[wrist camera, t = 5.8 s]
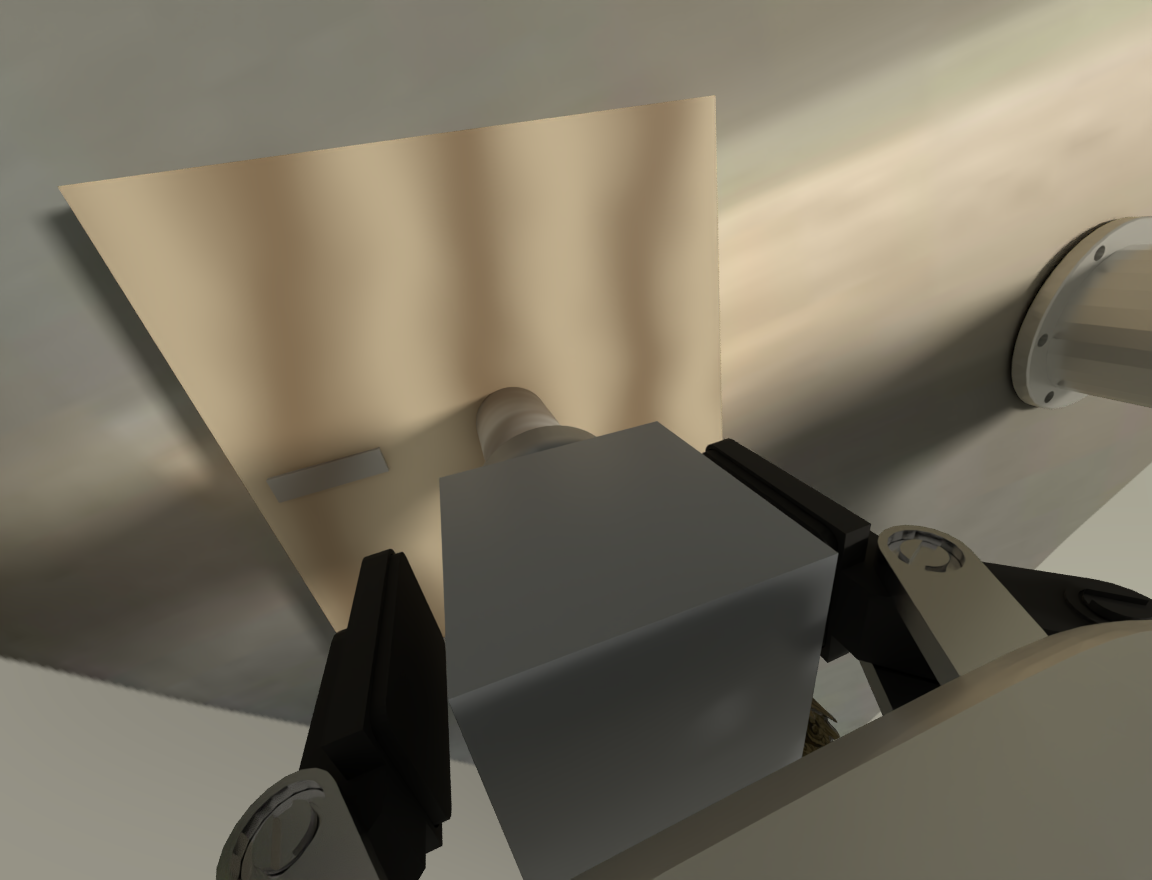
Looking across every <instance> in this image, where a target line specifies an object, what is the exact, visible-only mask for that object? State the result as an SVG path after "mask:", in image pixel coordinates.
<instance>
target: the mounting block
mask: <svg viewBox="0 0 1152 880" xmlns="http://www.w3.org/2000/svg"><path fill="white" fill-rule="evenodd" d="M58 188H59V189H60V191H61V193H62V194H63V196H64V197H65V199H66V201H67V202H68V204H69V205H70V207H71V209H72V210H73V212H74V213H75V215H76V217H77V218H78V220H79V221H80V223H81V225H82V226H83V228H84V229H85V231H86V233H87V234H88V236H89V237H90V239H91V241H92V242H93V244H94V245H95V247H96V249H97V250H98V252H99V254H100V255H101V257H102V258H103V260H104V262H105V263H106V265H107V266H108V268H109V270H110V271H111V273H112V274H113V276H114V278H115V279H116V281H117V282H118V284H119V286H120V287H121V289H122V290H123V292H124V294H125V295H126V297H127V298H128V300H129V302H130V303H131V305H132V306H133V308H134V310H135V311H136V313H137V314H138V316H139V318H140V319H141V321H142V322H143V324H144V326H145V327H146V329H147V330H148V332H149V334H150V335H151V337H152V338H153V340H154V342H155V343H156V345H157V346H158V348H159V350H160V351H161V353H162V354H163V356H164V358H165V359H166V361H167V362H168V364H169V366H170V367H171V369H172V370H173V372H174V374H175V375H176V377H177V378H178V380H179V382H180V383H181V385H182V386H183V388H184V390H185V391H186V393H187V394H188V396H189V398H190V399H191V401H192V402H193V404H194V406H195V407H196V409H197V410H198V412H199V414H200V415H201V417H202V418H203V420H204V422H205V423H206V425H207V426H208V428H209V430H210V431H211V433H212V434H213V436H214V438H215V439H216V441H217V442H218V444H219V446H220V447H221V449H222V450H223V452H224V454H225V455H226V457H227V458H228V460H229V462H230V463H231V465H232V466H233V468H234V470H235V471H236V473H237V474H238V476H239V478H240V479H241V481H242V482H243V484H244V486H245V487H246V489H247V490H248V492H249V494H250V495H251V497H252V498H253V500H254V502H255V503H256V505H257V506H258V508H259V510H260V511H261V513H262V514H263V516H264V518H265V519H266V521H267V522H268V524H269V526H270V527H271V529H272V530H273V532H274V534H275V535H276V537H277V538H278V540H279V542H280V543H281V545H282V546H283V548H284V550H285V551H286V553H287V554H288V556H289V558H290V559H291V561H292V562H293V564H294V566H295V567H296V569H297V570H298V572H299V574H300V575H301V577H302V578H303V580H304V582H305V583H306V585H307V586H308V588H309V590H310V591H311V593H312V594H313V596H314V598H315V599H316V601H317V602H318V604H319V606H320V607H321V609H322V610H323V612H324V614H325V615H326V617H327V618H328V620H329V622H330V623H331V625H332V626H333V628H334V630H335V631H336V633H337V632H338V631H341V630H344V629H346V628H347V626H348V621H349V617H350V613H351V608H352V604H353V599H354V595H355V590H356V586H357V581H358V577H359V572H360V568H361V563H362V560H363V558H364V557H366V556H369V555H372V554H375V553H378V552H381V551H384V550H387V549H393V551H394V552H395V553H399V552H404V554H405V555H406V557H407V559H408V562H409V564H410V566H411V568H412V570H413V572H414V575H415V577H416V579H417V581H418V583H419V585H420V588H421V590H422V592H423V594H424V596H425V598H426V601H427V603H428V605H429V607H430V609H431V611H432V614H433V616H434V618H435V620H436V622H437V624H438V627H439V629H440V631H441V633H442V636H443V637H445V614H444V588H443V563H442V538H441V513H440V488H439V478H440V477H444V476H448V475H452V474H456V473H460V472H463V471H467V470H471V469H475V468H479V467H482V466H483V465H484V463H485V462H486V461H487V459H488V458H489V457H490V456H491V455H492V454H493V453H494V452H495V451H496V450H497V449H498V448H499V447H500V446H501V445H503V444H504V443H505V442H506V441H508V440H510V439H511V438H513V437H515V436H516V435H519V434H521V433H523V432H525V431H528V430H531V429H534V428H538V427H544V426H553V425H562V426H571V427H576V428H579V429H582V430H585V431H587V432H589V433H591V434H593V435H595V436H596V437H598V436H602V435H605V434H609V433H613V432H617V431H621V430H625V429H629V428H632V427H636V426H640V425H644V424H648V423H652V422H655V421H658V422H659V423H660V424H662V425H663V426H665V427H666V428H667V429H669V430H670V431H671V432H673V433H674V434H676V435H677V436H678V437H680V438H681V439H682V440H684V441H685V442H687V443H688V444H689V445H691V446H692V447H693V448H695V449H696V450H698V451H699V452H700V453H703V452H705V449H706V447H707V446H708V445H709V444H712V443H715V442H718V441H721V440H722V396H721V348H720V299H719V251H718V203H717V155H716V107H715V95H714V96H707V97H699V98H692V99H685V100H678V101H671V102H663V103H656V104H649V105H642V106H634V107H627V108H620V109H613V110H606V111H598V112H591V113H584V114H577V115H569V116H562V117H555V118H548V119H541V120H533V121H526V122H519V123H512V124H505V125H497V126H490V127H483V128H476V129H468V130H461V131H454V132H447V133H440V134H432V135H425V136H418V137H411V138H404V139H396V140H389V141H382V142H375V143H367V144H360V145H353V146H346V147H339V148H331V149H324V150H317V151H310V152H303V153H295V154H288V155H281V156H274V157H266V158H259V159H252V160H245V161H238V162H230V163H223V164H216V165H209V166H202V167H194V168H187V169H180V170H173V171H165V172H158V173H151V174H144V175H137V176H129V177H122V178H115V179H108V180H101V181H93V182H86V183H79V184H72V185H64V186H58Z"/></svg>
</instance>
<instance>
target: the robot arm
mask: <svg viewBox="0 0 1152 880" xmlns="http://www.w3.org/2000/svg"><path fill="white" fill-rule="evenodd" d="M1011 375H1012V381H1013V387H1014V389H1015V391H1016V393H1017V395H1018V397H1019V398H1020V399H1021V400H1022V401H1024V402H1025V403H1027V404H1030V405H1033V406H1036V407H1041V408H1046V409H1058V408H1063V407H1065V406H1068V405H1071V404H1073V403H1076V402H1077V401H1079V400H1081V399H1083V398H1084V397H1086V396H1088V395H1092V396H1097V397H1102V398H1107V399H1111V400H1116V401H1121V402H1126V403H1130V404H1135V405H1140V406H1144V407H1149V408H1152V216H1142V217H1125V218H1121V219H1117V220H1114V221H1111V222H1109V223H1107V224H1105V225H1103V226H1102V227H1100V228H1098V229H1096V230H1095V231H1094V232H1092V233H1091V234H1090V235H1088V236H1087V237H1086V238H1084V239H1083V240H1081V241H1080V242H1079V243H1078V244H1077V245H1076V246H1075V247H1074V248H1073V249H1072V250H1071V251H1070V252H1069V253H1068V254H1067V255H1066V256H1065V257H1064V258H1063V259H1062V261H1061V262H1060V263H1059V264H1058V265H1057V267H1056V268H1055V269H1054V270H1053V271H1052V273H1051V274H1050V276H1049V277H1048V278H1047V280H1046V281H1045V283H1044V284H1043V286H1042V287H1041V289H1040V290H1039V292H1038V294H1037V295H1036V297H1035V299H1034V301H1033V302H1032V304H1031V306H1030V308H1029V310H1028V312H1027V314H1026V317H1025V319H1024V321H1023V323H1022V325H1021V328H1020V331H1019V334H1018V337H1017V340H1016V343H1015V348H1014V353H1013V358H1012V373H1011ZM702 454H703V455H704V456H706V457H707V458H709V459H710V460H711V461H713V462H714V463H715V464H717V465H718V466H719V467H721V468H722V469H724V470H725V471H726V472H728V473H729V474H730V475H732V476H733V477H735V478H736V479H737V480H739V481H740V482H741V483H743V484H744V485H746V486H747V487H748V488H750V489H751V490H752V491H754V492H755V493H757V494H758V495H759V496H761V497H762V498H763V499H765V500H766V501H768V502H769V503H770V504H772V505H773V506H774V507H776V508H777V509H779V510H780V511H781V512H783V513H784V514H785V515H787V516H788V517H789V518H791V519H792V520H794V521H795V522H796V523H798V524H799V525H800V526H802V527H803V528H805V529H806V530H807V531H809V532H810V533H811V534H813V535H814V536H816V537H817V538H818V539H820V540H821V541H822V542H824V543H825V544H827V545H828V546H829V547H831V548H832V549H833V550H835V551H836V552H838V558H837V564H836V570H835V575H834V581H833V586H832V592H831V597H830V603H829V609H828V614H827V620H826V625H825V631H824V636H823V642H822V648H821V653H820V656H821V657H822V658H823V659H824V660H825V661H826V662H827V663H828V662H831V661H833V660H835V659H837V658H839V657H841V656H843V655H845V654H847V653H849V652H850V653H851V654H852V655H853V656H854V657H855V658H856V659H858V660H859V662H860V664H861V666H862V669H863V671H864V673H865V676H866V678H867V680H868V683H869V685H870V687H871V690H872V692H873V694H874V697H875V699H876V701H877V704H878V706H879V708H880V711H881V713H882V715H883V716H882V717H880V718H878V719H876V720H874V721H872V722H870V723H868V724H866V725H864V726H862V727H860V728H858V729H856V730H854V731H852V732H850V733H848V734H847V735H845V736H843V737H841V738H839V739H837V740H835V741H833V742H831V743H829V744H827V745H825V746H823V747H821V748H819V749H818V750H816V751H814V752H812V753H810V754H808V755H806V756H804V757H802V758H800V759H798V760H796V761H795V762H793V763H791V764H789V765H787V766H785V767H783V768H781V769H779V770H777V771H775V772H773V773H771V774H770V775H768V776H766V777H764V778H762V779H760V780H758V781H756V782H754V783H752V784H750V785H748V786H747V787H745V788H743V789H741V790H739V791H737V792H735V793H733V794H731V795H729V796H727V797H725V798H724V799H722V800H720V801H718V802H716V803H714V804H712V805H710V806H708V807H706V808H704V809H703V810H701V811H699V812H697V813H695V814H693V815H691V816H689V817H687V818H685V819H683V820H681V821H680V822H678V823H676V824H674V825H672V826H670V827H668V828H666V829H664V830H662V831H661V832H659V833H657V834H655V835H653V836H651V837H649V838H647V839H645V840H644V841H642V842H640V843H638V844H636V845H634V846H632V847H630V848H628V849H626V850H625V851H623V852H621V853H619V854H617V855H615V856H613V857H611V858H609V859H608V860H606V861H604V862H602V863H600V864H598V865H596V866H594V867H592V868H591V869H589V870H587V871H585V872H583V873H581V874H579V875H577V876H575V877H574V878H572V879H570V880H1152V599H1150V598H1148V597H1146V596H1144V595H1142V594H1139V593H1137V592H1135V591H1133V590H1130V589H1127V588H1124V587H1121V586H1119V585H1115V584H1113V583H1109V582H1104V581H1100V580H1094V579H1090V578H1083V577H1077V576H1070V575H1063V574H1057V573H1051V572H1044V571H1037V570H1032V569H1025V568H1019V567H1012V566H1006V565H999V564H993V563H986V562H982V561H981V560H980V559H979V558H978V557H977V556H976V555H975V554H974V552H973V551H972V550H971V549H970V548H968V547H967V546H966V545H965V544H964V543H963V542H961V541H960V540H958V539H956V538H954V537H952V536H951V535H949V534H946V533H944V532H941V531H938V530H935V529H932V528H927V527H923V526H914V525H900V526H893V527H890V528H888V529H885V530H884V531H883V532H882V533H881V534H880V535H879V536H878V535H876V534H875V533H873V532H871V531H870V527H871V524H870V523H869V522H867V521H865V520H864V519H862V518H860V517H859V516H857V515H856V514H854V513H852V512H851V511H849V510H847V509H846V508H844V507H842V506H841V505H839V504H837V503H836V502H834V501H833V500H831V499H829V498H828V497H826V496H824V495H823V494H821V493H819V492H818V491H816V490H814V489H813V488H811V487H810V486H808V485H806V484H805V483H803V482H801V481H800V480H798V479H796V478H795V477H793V476H791V475H790V474H788V473H787V472H785V471H783V470H782V469H780V468H778V467H777V466H775V465H773V464H772V463H770V462H768V461H767V460H765V459H763V458H762V457H760V456H759V455H757V454H755V453H754V452H752V451H750V450H749V449H747V448H745V447H744V446H742V445H740V444H739V443H737V442H736V441H734V440H732V439H725V440H721V441H718V442H715V443H712V444H709V445H708V446H707V447H706V449H705V452H703V453H702ZM450 817H451V780H450V754H449V728H448V702H447V676H446V651H445V643H444V639H443V636H442V633H441V631H440V629H439V627H438V624H437V622H436V620H435V618H434V616H433V614H432V611H431V609H430V607H429V605H428V603H427V601H426V598H425V596H424V594H423V592H422V590H421V588H420V585H419V583H418V581H417V579H416V577H415V575H414V572H413V570H412V568H411V566H410V564H409V562H408V559H407V557H406V555H405V554H404V552H399V553H395V552H394V551H393V549H387V550H384V551H381V552H378V553H375V554H372V555H369V556H366V557H364V558H363V560H362V563H361V568H360V572H359V577H358V581H357V586H356V590H355V595H354V599H353V604H352V608H351V613H350V617H349V621H348V626H347V628H346V629H344V630H341V631H338V632H337V633H336V634H335V635H334V637H333V640H332V643H331V647H330V650H329V654H328V658H327V662H326V666H325V670H324V674H323V678H322V682H321V686H320V690H319V694H318V697H317V701H316V705H315V709H314V713H313V717H312V721H311V725H310V729H309V733H308V737H307V741H306V744H305V748H304V752H303V757H302V760H301V765H300V768H299V771H297V772H295V773H293V774H290V775H288V776H286V777H284V778H283V779H281V780H280V781H279V782H277V783H275V784H274V785H273V786H271V787H270V788H268V789H267V790H266V791H265V792H264V793H263V794H262V795H261V796H260V797H259V798H258V799H257V800H256V801H255V802H254V803H253V804H252V805H251V806H250V807H249V808H248V810H247V811H246V812H245V814H244V815H243V816H242V817H241V819H240V820H239V821H238V823H237V824H236V825H235V827H234V829H233V831H232V833H231V834H230V836H229V838H228V840H227V841H226V843H225V845H224V847H223V850H222V854H221V856H220V859H219V863H218V866H217V873H216V880H419V878H420V876H421V875H422V873H423V871H424V870H425V868H426V866H425V865H426V853H428V852H430V851H432V850H434V849H437V848H439V847H441V846H442V822H444V821H447V820H449V819H450Z"/></svg>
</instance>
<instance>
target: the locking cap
mask: <svg viewBox="0 0 1152 880" xmlns="http://www.w3.org/2000/svg"><path fill="white" fill-rule="evenodd" d="M439 488H440V513H441V538H442V563H443V588H444V614H445V639H446V664H447V689H448V701H449V704H450V706H451V708H452V711H453V713H454V716H455V718H456V720H457V723H458V725H459V727H460V730H461V732H462V735H463V737H464V739H465V742H466V744H467V746H468V749H469V751H470V754H471V756H472V758H473V761H474V763H475V766H476V768H477V770H478V773H479V775H480V777H481V780H482V782H483V785H484V787H485V789H486V792H487V794H488V796H489V799H490V801H491V804H492V806H493V808H494V811H495V813H496V816H497V818H498V820H499V823H500V825H501V827H502V830H503V832H504V835H505V837H506V839H507V842H508V844H509V847H510V849H511V851H512V854H513V856H514V858H515V861H516V863H517V866H518V868H519V870H520V873H521V875H522V877H523V880H570V879H572V878H574V877H575V876H577V875H579V874H581V873H583V872H585V871H587V870H589V869H591V868H592V867H594V866H596V865H598V864H600V863H602V862H604V861H606V860H608V859H609V858H611V857H613V856H615V855H617V854H619V853H621V852H623V851H625V850H626V849H628V848H630V847H632V846H634V845H636V844H638V843H640V842H642V841H644V840H645V839H647V838H649V837H651V836H653V835H655V834H657V833H659V832H661V831H662V830H664V829H666V828H668V827H670V826H672V825H674V824H676V823H678V822H680V821H681V820H683V819H685V818H687V817H689V816H691V815H693V814H695V813H697V812H699V811H701V810H703V809H704V808H706V807H708V806H710V805H712V804H714V803H716V802H718V801H720V800H722V799H724V798H725V797H727V796H729V795H731V794H733V793H735V792H737V791H739V790H741V789H743V788H745V787H747V786H748V785H750V784H752V783H754V782H756V781H758V780H760V779H762V778H764V777H766V776H768V775H770V774H771V773H773V772H775V771H777V770H779V769H781V768H783V767H785V766H787V765H789V764H791V763H793V762H795V761H796V760H798V759H800V758H802V753H803V748H804V742H805V737H806V731H807V726H808V720H809V714H810V709H811V703H812V698H813V692H814V687H815V681H816V675H817V670H818V664H819V659H820V653H821V648H822V642H823V636H824V631H825V625H826V620H827V614H828V609H829V603H830V597H831V592H832V586H833V581H834V575H835V570H836V564H837V558H838V552H836V551H835V550H833V549H832V548H831V547H829V546H828V545H827V544H825V543H824V542H822V541H821V540H820V539H818V538H817V537H816V536H814V535H813V534H811V533H810V532H809V531H807V530H806V529H805V528H803V527H802V526H800V525H799V524H798V523H796V522H795V521H794V520H792V519H791V518H789V517H788V516H787V515H785V514H784V513H783V512H781V511H780V510H779V509H777V508H776V507H774V506H773V505H772V504H770V503H769V502H768V501H766V500H765V499H763V498H762V497H761V496H759V495H758V494H757V493H755V492H754V491H752V490H751V489H750V488H748V487H747V486H746V485H744V484H743V483H741V482H740V481H739V480H737V479H736V478H735V477H733V476H732V475H730V474H729V473H728V472H726V471H725V470H724V469H722V468H721V467H719V466H718V465H717V464H715V463H714V462H713V461H711V460H710V459H709V458H707V457H706V456H704V455H703V454H702V453H700V452H699V451H698V450H696V449H695V448H693V447H692V446H691V445H689V444H688V443H687V442H685V441H684V440H682V439H681V438H680V437H678V436H677V435H676V434H674V433H673V432H671V431H670V430H669V429H667V428H666V427H665V426H663V425H662V424H660V423H659V422H658V421H655V422H652V423H648V424H644V425H640V426H636V427H632V428H629V429H625V430H621V431H617V432H613V433H609V434H605V435H602V436H598V437H596V436H595V435H593V434H591V433H589V432H587V431H585V430H582V429H579V428H576V427H571V426H562V425H553V426H544V427H538V428H534V429H531V430H528V431H525V432H523V433H521V434H519V435H516V436H515V437H513V438H511V439H510V440H508V441H506V442H505V443H504V444H503V445H501V446H500V447H499V448H498V449H497V450H496V451H495V452H494V453H493V454H492V455H491V456H490V457H489V458H488V459H487V461H486V462H485V463H484V465H483V466H482V467H479V468H475V469H471V470H467V471H463V472H460V473H456V474H452V475H448V476H444V477H440V478H439Z"/></svg>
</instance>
